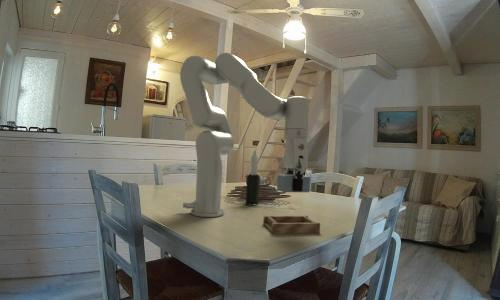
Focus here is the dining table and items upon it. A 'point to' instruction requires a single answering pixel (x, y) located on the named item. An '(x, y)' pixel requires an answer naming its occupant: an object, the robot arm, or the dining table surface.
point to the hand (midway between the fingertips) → (293, 188)
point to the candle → (253, 182)
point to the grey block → (291, 183)
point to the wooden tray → (290, 224)
